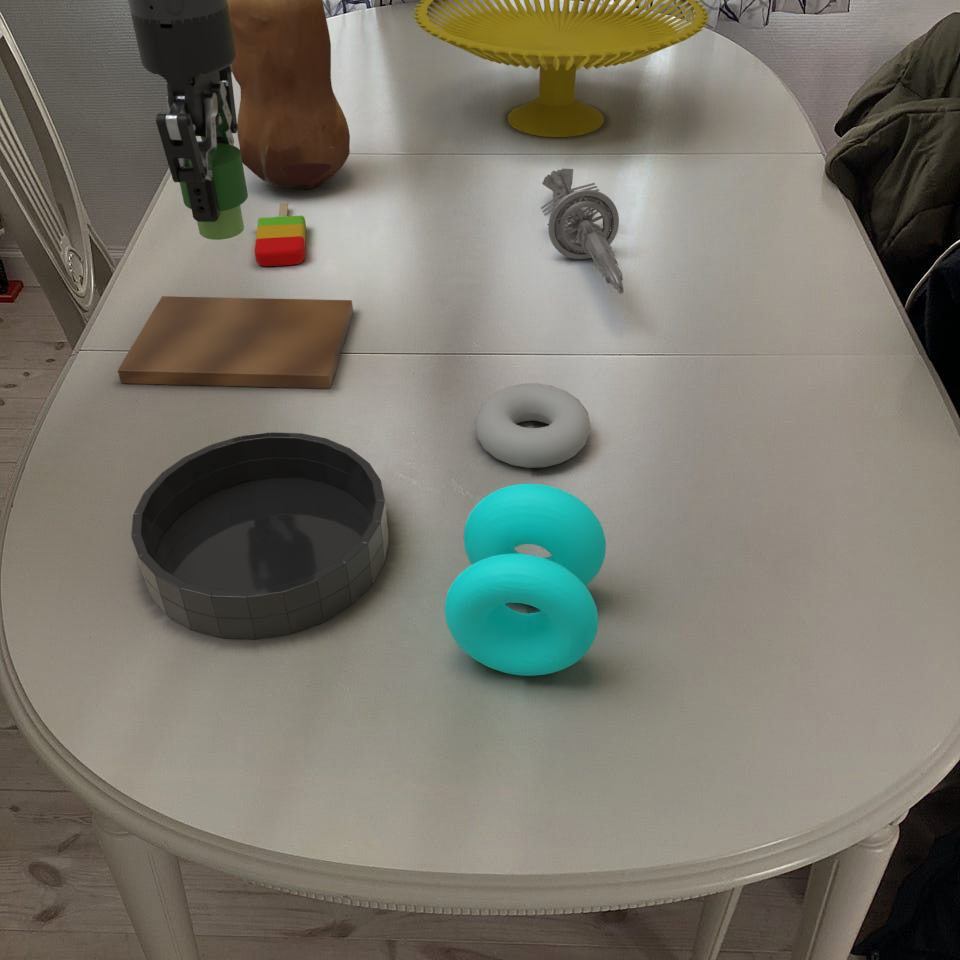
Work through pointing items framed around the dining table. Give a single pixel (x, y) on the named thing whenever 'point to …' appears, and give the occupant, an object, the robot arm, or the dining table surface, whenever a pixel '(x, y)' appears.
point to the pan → (261, 535)
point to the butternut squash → (287, 92)
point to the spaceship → (583, 224)
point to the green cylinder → (224, 193)
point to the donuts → (527, 581)
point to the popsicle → (280, 239)
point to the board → (239, 342)
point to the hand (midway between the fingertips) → (216, 203)
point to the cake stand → (560, 48)
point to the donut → (532, 443)
